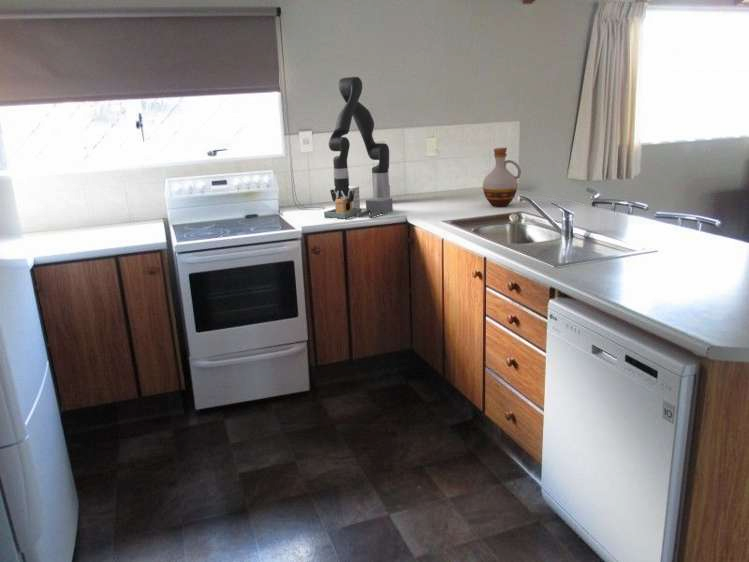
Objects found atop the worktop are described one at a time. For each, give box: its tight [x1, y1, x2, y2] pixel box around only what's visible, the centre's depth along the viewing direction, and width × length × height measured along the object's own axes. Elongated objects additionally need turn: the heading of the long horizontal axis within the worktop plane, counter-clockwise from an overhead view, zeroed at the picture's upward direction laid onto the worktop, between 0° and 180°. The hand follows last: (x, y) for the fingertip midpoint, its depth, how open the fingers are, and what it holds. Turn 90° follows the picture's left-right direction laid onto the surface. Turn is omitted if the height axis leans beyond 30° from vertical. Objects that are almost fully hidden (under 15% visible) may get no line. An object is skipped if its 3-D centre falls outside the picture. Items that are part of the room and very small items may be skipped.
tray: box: [323, 207, 363, 220], centre depth 329 cm, size 15×13×3 cm
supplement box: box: [346, 185, 361, 208], centre depth 342 cm, size 7×7×13 cm
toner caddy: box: [334, 197, 353, 213], centre depth 328 cm, size 9×5×7 cm, turn 146°
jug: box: [482, 147, 522, 208], centre depth 330 cm, size 20×18×30 cm
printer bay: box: [355, 197, 394, 219], centre depth 328 cm, size 20×10×7 cm, turn 146°
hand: (343, 209), depth 328 cm, fingers open, 5 cm apart
